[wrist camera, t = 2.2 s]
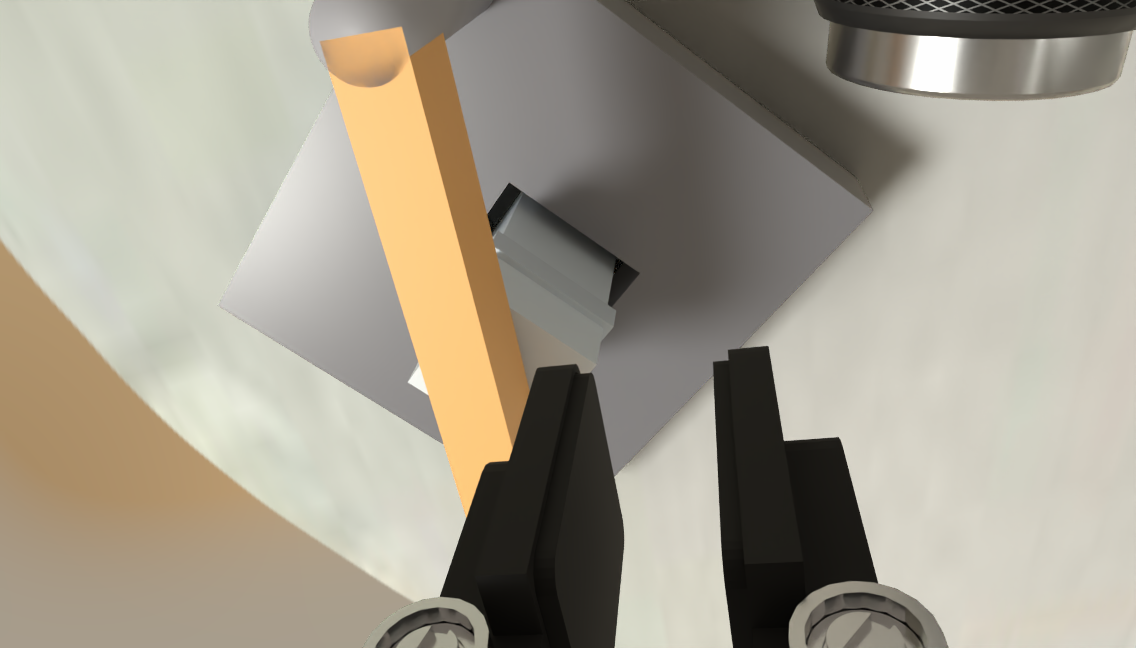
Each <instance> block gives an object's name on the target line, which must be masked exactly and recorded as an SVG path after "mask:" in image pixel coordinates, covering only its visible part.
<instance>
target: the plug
mask: <svg viewBox="0 0 1136 648" xmlns="http://www.w3.org/2000/svg"><path fill="white" fill-rule="evenodd" d="M492 237H493V241H494V245H495V249H496V253H497V258H498V262H499V266H500V270H501V274H502V278H503V282H504V287H505V291H506V295H507V299H508V303H509V307H510V311H511V316H512V320H513V324H514V328H515V332H516V336H517V340H518V345H519V349H520V353H521V357H522V361H523V365H524V369H525V373H526V378H527V382H528V386H529V390H530V388H531V385H532V382H533V378H534V375H535V372H536V370H537V368H539V367H548V366H558V365H569V364H577V365H578V367H579V370H580V373H581V374H582V373H590V372H591V371H592V370H593V368H594V367H595V366H596V365H597V360H598V355H599V349H600V344H601V341H602V340H603V339H604V338H605V336H606V335H607V334H608V333H609V332H610V331H611V329H612V328H613V327H614V321H615V315H616V310H615V309H613V308H612V307H610V306H609V305H608V300H609V294H610V289H611V283H612V278H613V272H614V267H615V261H616V256H614V255H613V254H612V253H610V252H609V251H607V250H606V249H604V248H603V247H601V246H600V245H599V244H597V243H596V242H594V241H593V240H591V239H590V238H588V237H587V236H586V235H584V234H583V233H581V232H580V231H578V230H577V229H575V228H574V227H573V226H571V225H570V224H568V223H567V222H565V221H564V220H563V219H561V218H560V217H558V216H557V215H555V214H554V213H552V212H551V211H550V210H548V209H547V208H545V207H544V206H542V205H541V204H539V203H538V202H537V201H535V200H534V199H532V198H531V197H529V196H528V195H526V194H525V193H524V192H522V191H521V192H520V194H519V195H518V197H517V198H516V199H515V201H514V202H513V204H512V205H511V207H510V208H509V209H508V211H507V212H506V214H505V215H504V216H503V218H502V219H501V221H500V222H499V224H498V225H497V226H496V228H495V229H494V231H493V232H492ZM408 383H410V384H411V385H413V386H414V387H416V388H418V389H419V390H421V391H422V392H424V393H426V394H427V395H428V392H427V388H426V385H425V382H424V379H423V375H422V372H421V369H420V366H419V362H418V364H417V366H416V368H415V370H414V371H413V373H412V375H411V377H410V379H409V381H408Z"/></svg>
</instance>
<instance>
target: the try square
mask: <svg viewBox="0 0 1136 648" xmlns="http://www.w3.org/2000/svg"><path fill="white" fill-rule="evenodd" d="M492 1H493V0H314V2H313V5H312V7H311V11H310V15H309V33H310V39H311V43H312V45H313V48H314V50H315V52H316V54H317V56H318V58H319V59H320V61H321V62H322V64H323V65H324V66H325V67H326V68H327V69H328V70H329V73H330V77H331V80H332V83H333V86H334V90H335V93H336V96H337V99H338V103H339V106H340V109H341V112H342V116H343V119H344V122H345V125H346V129H347V132H348V135H349V138H350V142H351V145H352V148H353V151H354V155H355V158H356V161H357V164H358V168H359V171H360V174H361V177H362V181H363V184H364V187H365V190H366V194H367V197H368V200H369V203H370V207H371V210H372V213H373V216H374V220H375V223H376V226H377V229H378V233H379V236H380V239H381V242H382V246H383V249H384V252H385V255H386V259H387V262H388V265H389V268H390V271H391V275H392V278H393V281H394V284H395V288H396V291H397V294H398V297H399V301H400V304H401V307H402V310H403V314H404V317H405V320H406V323H407V327H408V330H409V333H410V336H411V340H412V343H413V346H414V349H415V353H416V356H417V359H418V362H419V366H420V369H421V372H422V375H423V379H424V382H425V385H426V388H427V392H428V395H429V398H430V401H431V405H432V408H433V411H434V414H435V418H436V421H437V424H438V427H439V431H440V434H441V437H442V440H443V444H444V447H445V450H446V453H447V457H448V460H449V463H450V466H451V470H452V473H453V476H454V479H455V482H456V486H457V489H458V492H459V495H460V499H461V502H462V505H463V508H464V512H465V515H466V518H467V515H468V512H469V509H470V506H471V503H472V500H473V497H474V494H475V491H476V488H477V485H478V482H479V479H480V476H481V473H482V471H483V469H484V467H485V465H486V464H488V463H489V462H499V461H509V459H510V455H511V452H512V449H513V445H514V442H515V439H516V435H517V432H518V429H519V425H520V422H521V419H522V415H523V412H524V408H525V405H526V402H527V398H528V395H529V392H530V390H529V386H528V382H527V378H526V373H525V369H524V365H523V361H522V357H521V353H520V349H519V345H518V340H517V336H516V332H515V328H514V324H513V320H512V316H511V311H510V307H509V303H508V299H507V295H506V291H505V287H504V282H503V278H502V274H501V270H500V266H499V262H498V258H497V253H496V249H495V245H494V241H493V237H492V233H491V229H490V225H489V220H488V216H487V212H486V208H485V204H484V200H483V196H482V191H481V187H480V183H479V179H478V175H477V171H476V167H475V162H474V158H473V154H472V150H471V146H470V142H469V138H468V133H467V129H466V125H465V121H464V117H463V113H462V109H461V105H460V100H459V96H458V92H457V88H456V84H455V80H454V76H453V71H452V67H451V63H450V59H449V55H448V51H447V47H446V42H445V40H447V39H448V38H449V37H451V36H452V35H453V34H455V33H456V32H457V31H459V30H460V29H461V28H463V27H464V26H465V25H467V24H468V23H469V22H471V21H472V20H473V19H475V18H476V17H477V16H479V15H480V14H481V13H483V12H484V11H485V10H486V9H487V8H488V7H489V6H490V4H491V3H492Z"/></svg>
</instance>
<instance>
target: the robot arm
mask: <svg viewBox="0 0 1136 648" xmlns="http://www.w3.org/2000/svg"><path fill="white" fill-rule="evenodd" d="M728 359H729V360H726V361H715V362H713V376H714V398H715V419H716V441H717V462H718V484H719V505H720V527H721V547H722V561H723V572H724V581H725V590H726V597H727V605H728V612H729V620H730V628H731V635H732V643H733V648H948V645H947V642H946V639H945V637H944V634H943V632H942V630H941V628H940V626H939V625H938V623H937V621H936V619H935V618H934V616H933V615H932V614H931V613H930V612H929V611H928V610H927V609H926V608H925V607H924V606H923V605H922V604H921V603H920V602H919V601H917V600H916V599H914V598H912V597H911V596H909V595H907V594H905V593H903V592H901V591H900V590H898V589H896V588H892V587H889V586H885V585H881V584H878V581H877V577H876V573H875V569H874V566H873V562H872V558H871V554H870V550H869V546H868V542H867V539H866V535H865V531H864V527H863V523H862V519H861V516H860V512H859V508H858V504H857V500H856V496H855V492H854V489H853V485H852V481H851V477H850V473H849V469H848V466H847V462H846V458H845V454H844V450H843V446H842V443H841V440H840V439H839V437H836V438H822V439H808V440H794V441H784V440H783V433H782V427H781V421H780V415H779V409H778V402H777V396H776V390H775V384H774V378H773V372H772V365H771V359H770V353H769V347H768V346H763V347H752V348H741V349H730V350H728ZM623 552H624V527H623V519H622V514H621V509H620V504H619V499H618V494H617V489H616V484H615V479H614V474H613V469H612V463H611V458H610V453H609V448H608V443H607V438H606V433H605V428H604V423H603V418H602V413H601V408H600V403H599V398H598V393H597V388H596V383H595V379H594V376H593V374H592V373H582V374H581V373H580V370H579V367H578V365H577V364H569V365H558V366H548V367H539V368H537V370H536V372H535V375H534V378H533V382H532V385H531V388H530V392H529V395H528V398H527V402H526V405H525V408H524V412H523V415H522V419H521V422H520V425H519V429H518V432H517V435H516V439H515V442H514V445H513V449H512V452H511V455H510V459H509V461H499V462H489V463H488V464H486V465H485V467H484V469H483V471H482V473H481V476H480V479H479V482H478V485H477V488H476V491H475V494H474V497H473V500H472V503H471V506H470V509H469V512H468V515H467V518H466V521H465V524H464V527H463V530H462V533H461V536H460V538H459V541H458V544H457V547H456V550H455V553H454V556H453V559H452V562H451V565H450V568H449V571H448V574H447V577H446V580H445V583H444V586H443V589H442V592H441V595H440V597H438V598H431V599H424V600H421V601H418V602H415V603H413V604H410V605H407V606H405V607H403V608H401V609H400V610H398V611H396V612H395V613H393V614H392V615H390V616H389V617H387V618H386V619H385V620H384V621H383V622H382V623H381V624H380V625H379V626H378V627H377V628H376V629H375V630H374V631H373V632H372V633H371V634H370V636H369V638H368V639H367V641H366V642H365V644H364V646H363V647H362V648H614V647H615V636H616V626H617V615H618V604H619V594H620V583H621V573H622V562H623Z"/></svg>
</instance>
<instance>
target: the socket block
mask: <svg viewBox="0 0 1136 648" xmlns="http://www.w3.org/2000/svg"><path fill="white" fill-rule="evenodd" d="M445 42H446V47H447V51H448V55H449V59H450V63H451V67H452V71H453V76H454V80H455V84H456V88H457V92H458V96H459V100H460V105H461V109H462V113H463V117H464V121H465V125H466V129H467V133H468V138H469V142H470V146H471V150H472V154H473V158H474V162H475V167H476V171H477V175H478V179H479V183H480V187H481V191H482V196H483V200H484V204H485V208H486V212H487V214H488V212H489V211H490V209H491V208H492V206H493V205H494V203H495V202H496V201H497V199H498V198H499V196H500V195H501V193H502V192H503V191H504V189H505V188H506V186H507V185H508V183H511V184H512V185H513V186H515V187H516V188H518V189H519V190H521V191H522V192H524V193H525V194H526V195H528V196H529V197H531V198H532V199H534V200H535V201H537V202H538V203H539V204H541V205H542V206H544V207H545V208H547V209H548V210H550V211H551V212H552V213H554V214H555V215H557V216H558V217H560V218H561V219H563V220H564V221H565V222H567V223H568V224H570V225H571V226H573V227H574V228H575V229H577V230H578V231H580V232H581V233H583V234H584V235H586V236H587V237H588V238H590V239H591V240H593V241H594V242H596V243H597V244H599V245H600V246H601V247H603V248H604V249H606V250H607V251H609V252H610V253H612V254H613V255H614V256H616V257H617V258H619V259H620V260H622V261H623V262H624V263H623V264H622V265H621V267H620V268H619V269H618V270H617V271H616V273H615V274H614V275H613V278H612V283H611V289H610V294H609V300H608V305H609V306H610V307H612V308H613V309H615V310H616V315H615V321H614V327H613V328H612V329H611V331H610V332H609V333H608V334H607V335H606V336H605V338H604V339H603V340H602V341H601V344H600V349H599V355H598V360H597V365H596V366H595V367H594V368H593V370H592V371H591V372H590V373H592V374H593V376H594V379H595V383H596V388H597V393H598V398H599V403H600V408H601V413H602V418H603V423H604V428H605V433H606V438H607V443H608V448H609V453H610V458H611V463H612V469H613V474H614V476H615V475H616V474H617V473H618V472H619V471H620V470H621V469H622V468H623V467H624V466H625V465H626V464H627V463H628V462H629V461H630V460H631V459H632V458H633V457H634V456H635V455H636V454H637V453H638V452H639V451H640V450H641V449H642V448H643V447H644V446H645V445H646V444H647V442H648V441H649V440H650V439H651V438H652V437H653V436H654V435H655V434H656V433H657V432H658V431H659V430H660V429H661V428H662V427H663V426H664V425H665V424H666V423H667V422H668V421H669V420H670V419H671V418H672V417H673V416H674V415H675V414H676V413H677V412H678V411H679V410H680V409H681V408H682V407H683V405H684V404H685V403H686V402H687V401H688V400H689V399H690V398H691V397H692V396H693V395H694V394H695V393H696V392H697V391H698V390H699V389H700V388H701V387H702V386H703V385H704V384H705V383H706V382H707V381H708V380H709V379H710V378H711V377H712V376H713V362H715V361H726V360H728V350H730V349H739V348H740V347H741V346H742V345H743V344H744V343H745V342H746V341H747V340H748V339H749V338H750V337H751V336H752V335H753V334H754V333H755V331H756V330H757V329H758V328H759V327H760V326H761V325H762V324H763V323H764V322H765V321H766V320H767V319H768V318H769V317H770V316H771V315H772V314H773V313H774V312H775V311H776V310H777V309H778V308H779V307H780V306H781V305H782V304H783V303H784V302H785V301H786V300H787V299H788V298H789V297H790V296H791V294H792V293H793V292H794V291H795V290H796V289H797V288H798V287H799V286H800V285H801V284H802V283H803V282H804V281H805V280H806V279H807V278H808V277H809V276H810V275H811V274H812V273H813V272H814V271H815V270H816V269H817V268H818V267H819V266H820V265H821V264H822V263H823V262H824V261H825V260H826V259H827V258H828V256H829V255H830V254H831V253H832V252H833V251H834V250H835V249H836V248H837V247H838V246H839V245H840V244H841V243H842V242H843V241H844V240H845V239H846V238H847V237H848V236H849V235H850V234H851V233H852V232H853V231H854V230H855V229H856V228H857V227H858V226H859V225H860V224H861V223H862V222H863V221H864V219H865V218H866V217H867V216H868V215H869V214H870V213H871V212H872V211H873V209H872V207H871V205H870V203H869V201H868V199H867V197H866V195H865V194H864V192H863V190H862V188H861V186H860V184H859V182H858V180H857V178H856V177H855V176H853V175H852V174H851V173H849V172H848V171H847V170H846V169H844V168H843V167H842V166H840V165H839V164H838V163H836V162H835V161H834V160H832V159H831V158H830V157H829V156H827V155H826V154H825V153H823V152H822V151H821V150H819V149H818V148H817V147H815V146H814V145H813V144H812V143H810V142H809V141H808V140H806V139H805V138H804V137H802V136H801V135H800V134H798V133H797V132H796V131H795V130H793V129H792V128H791V127H789V126H788V125H787V124H785V123H784V122H783V121H781V120H780V119H779V118H778V117H776V116H775V115H774V114H772V113H771V112H770V111H768V110H767V109H766V108H764V107H763V106H762V105H761V104H759V103H758V102H757V101H755V100H754V99H753V98H751V97H750V96H749V95H747V94H746V93H745V92H744V91H742V90H741V89H740V88H738V87H737V86H736V85H734V84H733V83H732V82H730V81H729V80H728V79H727V78H725V77H724V76H723V75H721V74H720V73H719V72H717V71H716V70H715V69H713V68H712V67H711V66H710V65H708V64H707V63H706V62H704V61H703V60H702V59H700V58H699V57H698V56H696V55H695V54H694V53H693V52H691V51H690V50H689V49H687V48H686V47H685V46H683V45H682V44H681V43H679V42H678V41H677V40H676V39H674V38H673V37H672V36H670V35H669V34H668V33H666V32H665V31H664V30H662V29H661V28H660V27H659V26H657V25H656V24H655V23H653V22H652V21H651V20H649V19H648V18H647V17H645V16H644V15H643V14H642V13H640V12H639V11H638V10H636V9H635V8H634V7H632V6H631V5H630V4H628V3H627V2H626V1H625V0H493V1H492V3H491V4H490V6H489V7H488V8H487V9H486V10H485V11H484V12H483V13H481V14H480V15H479V16H477V17H476V18H475V19H473V20H472V21H471V22H469V23H468V24H467V25H465V26H464V27H463V28H461V29H460V30H459V31H457V32H456V33H455V34H453V35H452V36H451V37H449V38H448V39H447V40H445ZM217 306H219V307H220V308H222V309H224V310H225V311H227V312H229V313H230V314H232V315H234V316H235V317H237V318H238V319H240V320H242V321H243V322H245V323H247V324H248V325H250V326H251V327H253V328H255V329H256V330H258V331H260V332H261V333H263V334H264V335H266V336H268V337H269V338H271V339H273V340H274V341H276V342H277V343H279V344H281V345H282V346H284V347H286V348H287V349H289V350H291V351H292V352H294V353H295V354H297V355H299V356H300V357H302V358H304V359H305V360H307V361H308V362H310V363H312V364H313V365H315V366H317V367H318V368H320V369H321V370H323V371H325V372H326V373H328V374H330V375H331V376H333V377H334V378H336V379H338V380H339V381H341V382H343V383H344V384H346V385H348V386H349V387H351V388H352V389H354V390H356V391H357V392H359V393H361V394H362V395H364V396H365V397H367V398H369V399H370V400H372V401H374V402H375V403H377V404H378V405H380V406H382V407H383V408H385V409H387V410H388V411H390V412H392V413H393V414H395V415H396V416H398V417H400V418H401V419H403V420H405V421H406V422H408V423H409V424H411V425H413V426H414V427H416V428H418V429H419V430H421V431H422V432H424V433H426V434H427V435H429V436H431V437H432V438H434V439H435V440H437V441H439V442H440V443H442V444H443V440H442V437H441V434H440V431H439V427H438V424H437V421H436V418H435V414H434V411H433V408H432V405H431V401H430V398H429V395H427V394H426V393H424V392H422V391H421V390H419V389H418V388H416V387H414V386H413V385H411V384H410V383H408V381H409V379H410V377H411V375H412V373H413V371H414V370H415V368H416V366H417V364H418V359H417V356H416V353H415V349H414V346H413V343H412V340H411V336H410V333H409V330H408V327H407V323H406V320H405V317H404V314H403V310H402V307H401V304H400V301H399V297H398V294H397V291H396V288H395V284H394V281H393V278H392V275H391V271H390V268H389V265H388V262H387V259H386V255H385V252H384V249H383V246H382V242H381V239H380V236H379V233H378V229H377V226H376V223H375V220H374V216H373V213H372V210H371V207H370V203H369V200H368V197H367V194H366V190H365V187H364V184H363V181H362V177H361V174H360V171H359V168H358V164H357V161H356V158H355V155H354V151H353V148H352V145H351V142H350V138H349V135H348V132H347V129H346V125H345V122H344V119H343V116H342V112H341V109H340V106H339V103H338V99H337V96H336V93H335V90H334V87H333V89H332V91H331V93H330V95H329V96H328V98H327V100H326V102H325V104H324V106H323V108H322V110H321V111H320V113H319V115H318V117H317V119H316V121H315V123H314V125H313V127H312V128H311V130H310V132H309V134H308V136H307V138H306V140H305V142H304V143H303V145H302V147H301V149H300V151H299V153H298V155H297V157H296V159H295V160H294V162H293V164H292V166H291V168H290V170H289V172H288V174H287V175H286V177H285V179H284V181H283V183H282V185H281V187H280V189H279V191H278V192H277V194H276V196H275V198H274V200H273V202H272V204H271V206H270V207H269V209H268V211H267V213H266V215H265V217H264V219H263V221H262V223H261V224H260V226H259V228H258V230H257V232H256V234H255V236H254V238H253V239H252V241H251V243H250V245H249V247H248V249H247V251H246V253H245V255H244V256H243V258H242V260H241V262H240V264H239V266H238V268H237V270H236V271H235V273H234V275H233V277H232V279H231V281H230V283H229V285H228V287H227V288H226V290H225V292H224V294H223V296H222V298H221V300H220V302H219V304H218V305H217Z"/></svg>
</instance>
